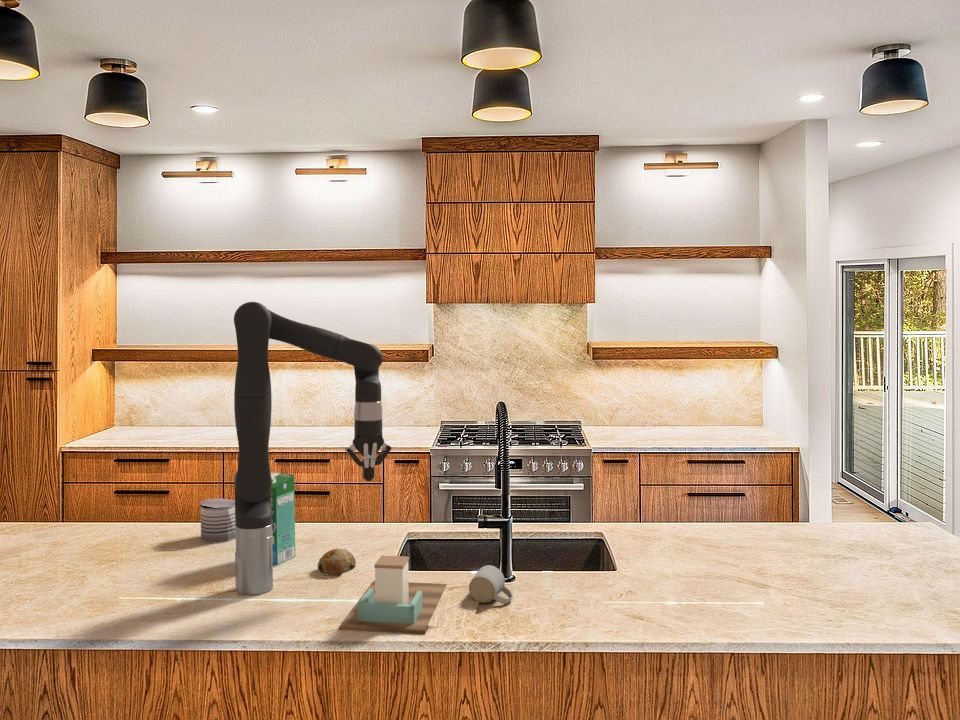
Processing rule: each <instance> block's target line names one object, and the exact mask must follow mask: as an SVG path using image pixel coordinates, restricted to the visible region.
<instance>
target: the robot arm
mask: <svg viewBox="0 0 960 720" xmlns="http://www.w3.org/2000/svg"><path fill="white" fill-rule="evenodd" d="M233 325H234V329H235V336H236V337H235V338H236V343H237V344H236V345H237V365H236V372H235V377H234V378H235V379H234V380H235V381H234V393H233V397H234V401H233V403H234V407H233V409H234V410H233V411H234V422H235V430H236V436H237V437H236V438H237V444H238V459H237V460H238V462H237V463H238V464H237V471H236V473H235V475H234V481H233V482H234V501H235V525H236V526H235V527H236V539H235V552H234V565H235V567H234V568H235V571H234V573H235V575H234V576H235V580H234V581H235V590H236V594H237V595H239V596H240V595H246V596H247V595H249V596H250V595H252V596H253V595H254V596H255V595H261V594H265V593H268V592H269V591H271V590H273V588H274V573H273V572H274V569H273V567H274V565H273V550H272V507H271V487H272V478H271V465H270V458H269V457H270V456H269V454H270V453H269V451H270V450H269V448H270V447H269V444H270V434H271V427H272V425H271V424H272V408H273V407H272V400H273V399H272V396H273V395H272V380H271V373H270V371H271V370H270V365H269V345H270V344H269V341H270V340H274V341H279V342H283V343H285V344H289V345H291V346H294V347H297V348H300V349H301V350H304V351H307V352H309V353H312V354H315V355H318V356H320V357H323V358H325V359H326V358H327V359H330V360H333V361H337V362H338V361H339V362H342V363H346V364H348V365H350V366H353V369H354V379H355V386H354V391H355V392H354V395H355V396H354V399H355V400H354V401H355V402H354V411H353V417H354V418H353V419H354V421H353V422H354V423H353V427H354V433H353V434H354V435H353V436H354V437H353V439H352V444H351V445H349V446H346V447H345V448H344V450H345V452H346V453H347V455H348V456H349V457H350V458H351V459H352V460H353V462H354V463H355V464H356V465H357V466H358V467H362V478H363V479H364V481H365V482H367V483H368V482H372V481H373V479H375V467H377V466H380V465H381V464H382V463H383V461H384V460H385V459H386V457H387V456H388V455H389V453H390V452H391V450H392V446H390V445H389V444H387V443H386V442H385V440H384V437H383V405H382V384H381V381H380V371H379V368H380V366H381V365H382V364H383V361H384V355H383V353H382V351H381V349H380V348H379V347H378V346H376V345H374V344H371V343H366V342H364V341H359V340H356V339H353V338H349V337H347V336H345V335H343V334H340V333H337V332H334V331H331V330H328V329H324V328H321V327H318V326H314V325H310V324H307V323H302V322H299V321H296V320H292V319H289V318H286V317H285V316H282V315H280V314H277V313H275V312H273V311H272V310H270V309H268V308H267V307H266V306H265V305H264V304H262V303H260V302H256V301H248V302H247V301H246V302H245V303H243V304H241V305H240V306H239V307H238V308H237V309H236V310H235V312H234V315H233ZM356 450H357V452H358V453H359V454H360V457H361V459H360V458H358V455H356ZM380 450H381V451H380ZM379 451H380V452H379ZM378 453H379V454H378ZM377 454H378V455H377Z"/></svg>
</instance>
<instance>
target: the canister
mask: <svg viewBox="0 0 960 720" xmlns="http://www.w3.org/2000/svg"><path fill="white" fill-rule="evenodd" d="M409 560H410V556H405V555H404V556H399V555H381V556H380V557H379V558H378V560H377V561H376V562H375V563H374V581H375V603H385V604H406V605H409Z"/></svg>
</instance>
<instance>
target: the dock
mask: <svg viewBox="0 0 960 720" xmlns="http://www.w3.org/2000/svg"><path fill="white" fill-rule="evenodd" d="M367 589H368V588H367ZM364 593H365V592H364ZM361 597H362V596H361ZM358 601H359V600H358ZM422 607H423V591H417V593H416V595H415V597H414V598H413V600H412V602H411V604H410V605H406V604H385V603H374V589H368V591H367V592H366V593H365V595H364V596H363V597H362V599H361V600H360V601H359V603H358V604H357V611H358V621H369V622H388V623H407V624H414V623H415V621H416V619H417V617H418V615H419V613H420V611H421V609H422Z"/></svg>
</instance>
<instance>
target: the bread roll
mask: <svg viewBox="0 0 960 720" xmlns="http://www.w3.org/2000/svg"><path fill="white" fill-rule="evenodd" d="M354 568H356V558H355V556H354V555H353V554H352V552H350V551H349V550H348V549H346V548H333V549H331V550H328V551H327V552H325V553H324V554H323V555H322V556H321V557H319V560H318V562H317V569H318V570H319V571H320V573H321V572H322V573H321V574H323V575H326V574H328V575H327V576H330V575H332V576H336V575H338V576H342V575H343V574H344V573H347V572H348V573H349V572H350V571H352V570H353V569H354Z"/></svg>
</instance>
